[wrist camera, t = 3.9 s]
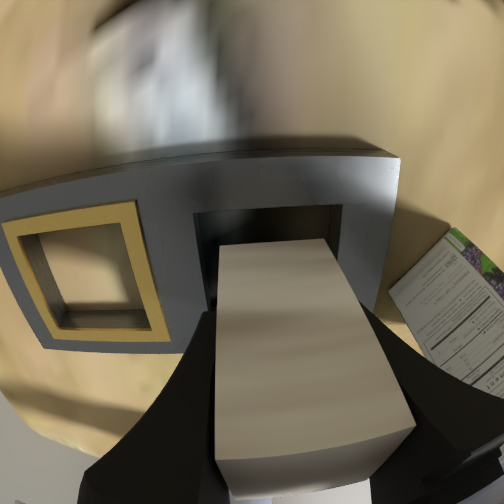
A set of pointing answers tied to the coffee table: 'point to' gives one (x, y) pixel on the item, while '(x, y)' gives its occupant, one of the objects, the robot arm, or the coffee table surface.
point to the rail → (187, 234)
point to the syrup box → (457, 312)
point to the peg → (298, 375)
